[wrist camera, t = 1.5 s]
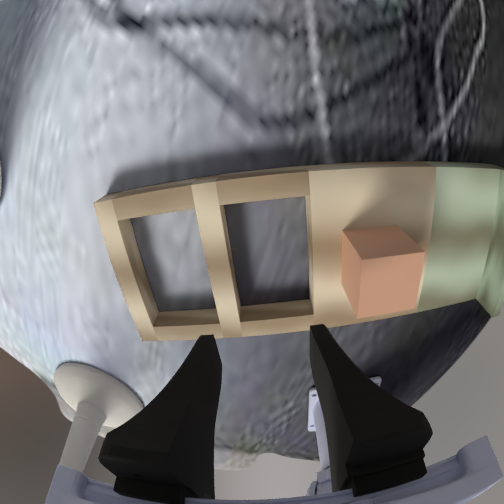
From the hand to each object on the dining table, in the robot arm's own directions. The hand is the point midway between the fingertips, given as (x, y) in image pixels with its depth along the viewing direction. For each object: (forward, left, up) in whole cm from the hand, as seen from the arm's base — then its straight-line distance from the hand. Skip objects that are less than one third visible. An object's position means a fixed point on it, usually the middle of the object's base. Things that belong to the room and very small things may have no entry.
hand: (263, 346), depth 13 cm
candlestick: (-18, +22, -10) cm, 30 cm away
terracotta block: (0, -8, -7) cm, 11 cm away
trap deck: (0, -5, -9) cm, 11 cm away
